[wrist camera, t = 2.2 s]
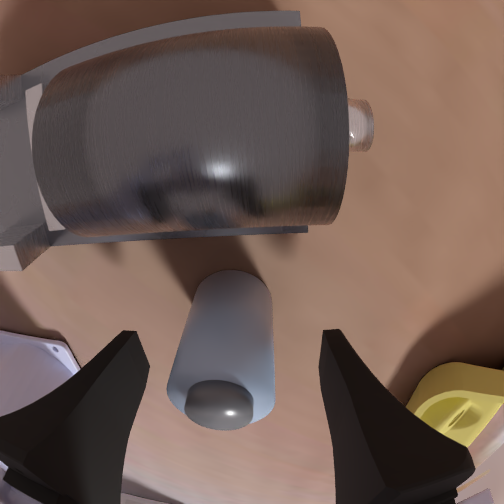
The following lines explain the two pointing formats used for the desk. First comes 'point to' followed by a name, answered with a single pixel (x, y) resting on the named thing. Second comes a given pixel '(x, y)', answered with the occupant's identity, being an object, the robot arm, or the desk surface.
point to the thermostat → (137, 500)
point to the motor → (178, 136)
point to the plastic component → (458, 399)
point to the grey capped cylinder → (226, 354)
